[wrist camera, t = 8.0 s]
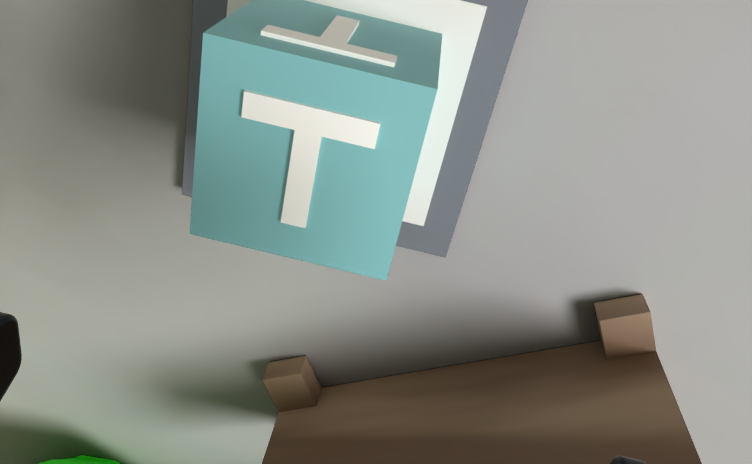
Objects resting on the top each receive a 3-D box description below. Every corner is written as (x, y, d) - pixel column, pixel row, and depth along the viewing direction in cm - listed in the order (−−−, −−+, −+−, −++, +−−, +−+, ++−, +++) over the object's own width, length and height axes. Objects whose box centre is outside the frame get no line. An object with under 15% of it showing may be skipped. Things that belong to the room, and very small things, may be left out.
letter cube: (401, 191, 20) (386, 283, 16) (246, 154, 20) (188, 236, 16) (443, 29, 18) (438, 86, 13) (265, -13, 17) (201, 29, 13)
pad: (445, 251, 22) (445, 258, 21) (186, 188, 21) (180, 195, 21) (533, -26, 17) (535, -23, 17) (204, -106, 17) (198, -106, 16)
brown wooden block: (658, 400, 24) (726, 582, 18) (313, 450, 27) (272, 616, 21) (642, 294, 22) (714, 461, 16) (268, 362, 25) (208, 521, 19)
